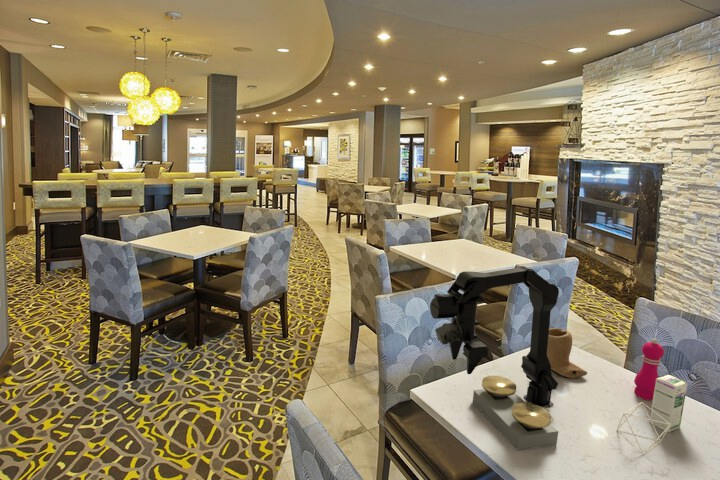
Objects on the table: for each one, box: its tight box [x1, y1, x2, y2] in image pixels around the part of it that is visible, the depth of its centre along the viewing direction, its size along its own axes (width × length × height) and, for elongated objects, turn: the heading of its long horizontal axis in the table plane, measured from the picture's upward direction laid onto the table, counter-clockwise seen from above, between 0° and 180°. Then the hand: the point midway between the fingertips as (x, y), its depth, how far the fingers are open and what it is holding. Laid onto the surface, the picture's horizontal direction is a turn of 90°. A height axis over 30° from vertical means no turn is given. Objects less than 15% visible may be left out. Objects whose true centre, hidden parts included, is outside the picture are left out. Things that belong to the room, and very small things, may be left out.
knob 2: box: [512, 402, 552, 432], centre depth 125 cm, size 10×10×5 cm
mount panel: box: [472, 388, 559, 451], centre depth 133 cm, size 12×24×4 cm, turn 15°
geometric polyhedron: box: [616, 401, 671, 456], centre depth 126 cm, size 12×11×9 cm
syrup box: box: [648, 374, 688, 433], centre depth 134 cm, size 6×6×14 cm
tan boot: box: [547, 327, 588, 379], centre depth 165 cm, size 15×12×15 cm
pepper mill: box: [633, 338, 665, 401], centre depth 150 cm, size 7×7×20 cm
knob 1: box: [481, 375, 517, 400], centre depth 140 cm, size 10×10×5 cm
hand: (461, 366), depth 135 cm, fingers open, 9 cm apart
